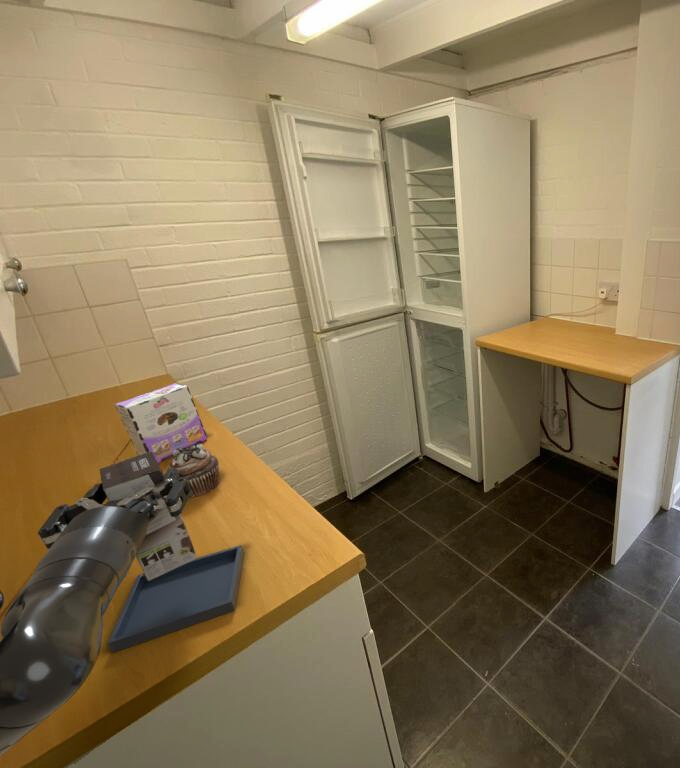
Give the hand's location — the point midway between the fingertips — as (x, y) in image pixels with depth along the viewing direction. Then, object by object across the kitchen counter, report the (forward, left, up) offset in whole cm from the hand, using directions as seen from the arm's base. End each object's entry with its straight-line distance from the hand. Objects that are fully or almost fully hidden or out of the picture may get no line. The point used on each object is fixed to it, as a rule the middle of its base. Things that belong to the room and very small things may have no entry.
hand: (139, 480), depth 61 cm
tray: (0, -2, -22) cm, 22 cm away
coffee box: (0, -1, -14) cm, 14 cm away
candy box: (-13, +55, -22) cm, 61 cm away
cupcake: (-4, +32, -22) cm, 39 cm away
